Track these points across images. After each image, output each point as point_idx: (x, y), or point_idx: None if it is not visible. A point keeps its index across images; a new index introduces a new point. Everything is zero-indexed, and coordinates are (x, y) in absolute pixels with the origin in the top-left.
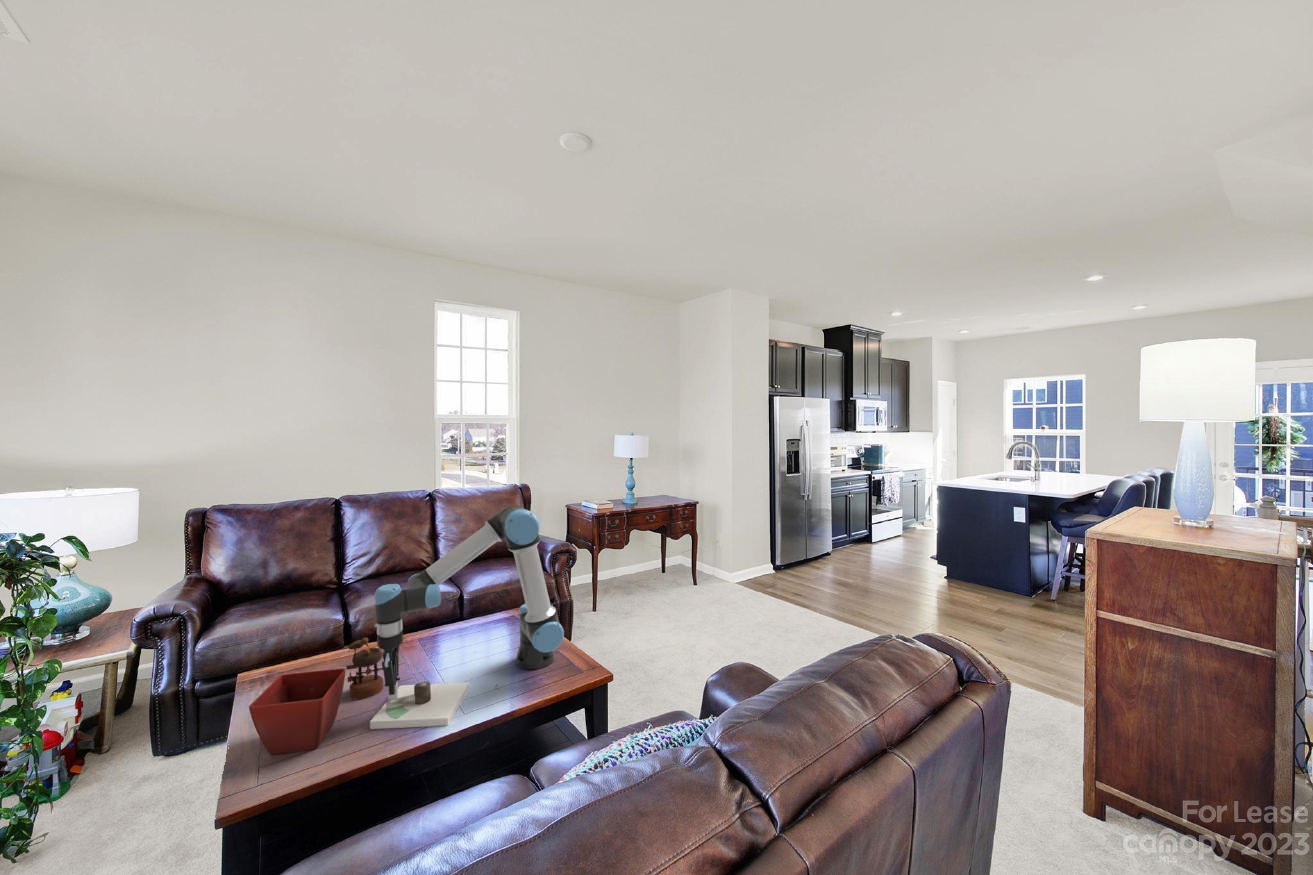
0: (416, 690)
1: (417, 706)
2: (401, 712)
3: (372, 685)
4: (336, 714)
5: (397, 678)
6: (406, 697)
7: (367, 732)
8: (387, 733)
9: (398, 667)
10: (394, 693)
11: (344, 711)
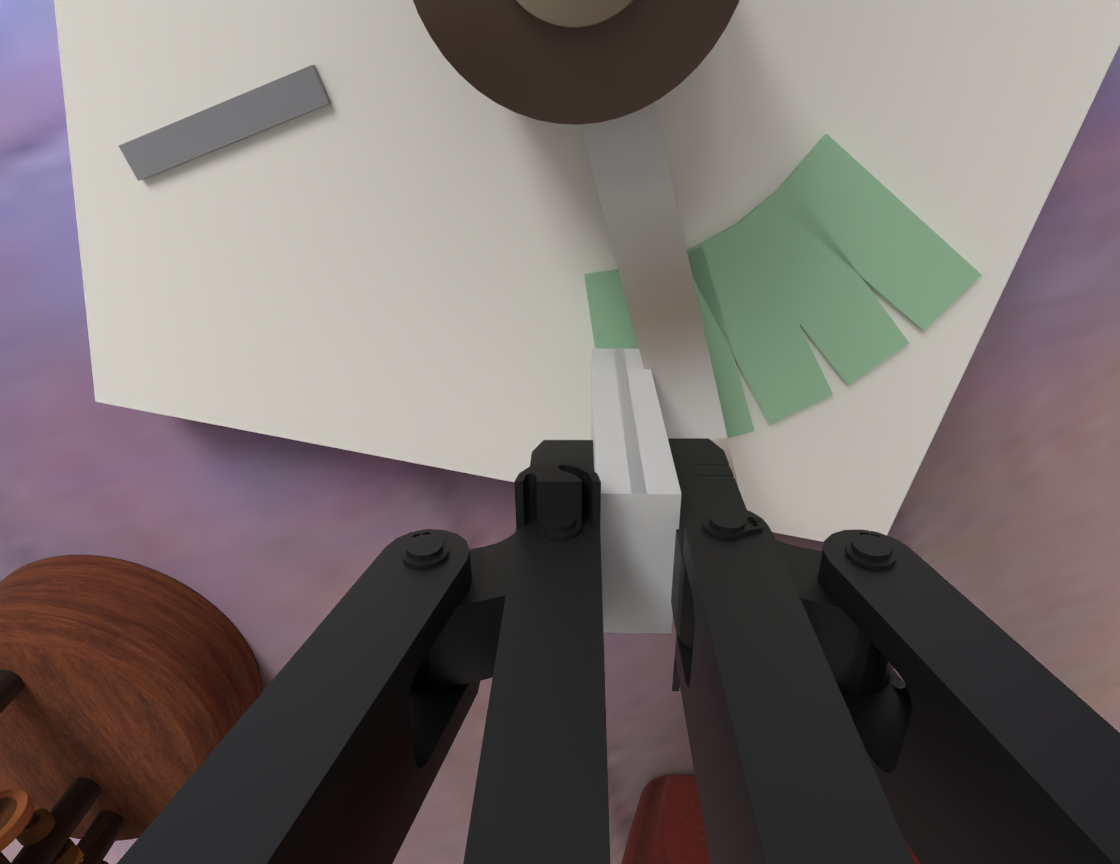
0: (711, 44)
1: (740, 34)
2: (843, 244)
3: (147, 684)
4: (667, 833)
5: (567, 523)
6: (661, 234)
7: (904, 516)
8: (1034, 326)
9: (316, 652)
10: (679, 439)
11: (453, 745)
